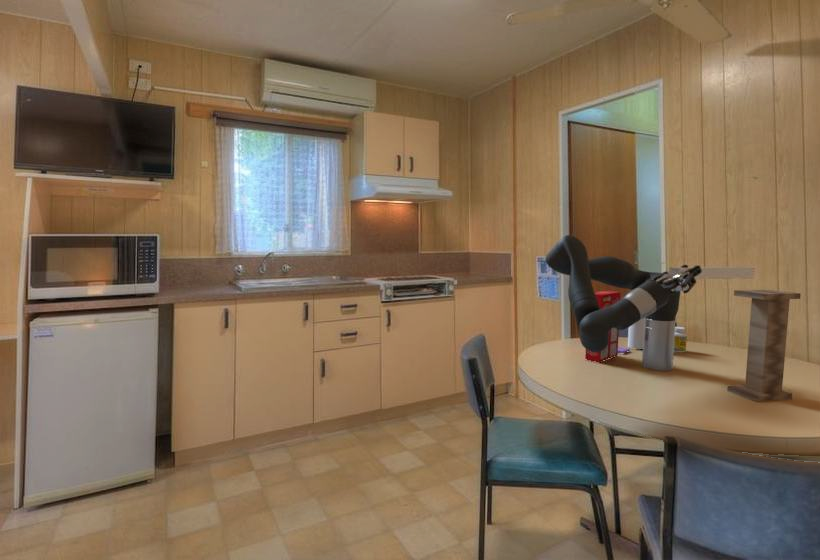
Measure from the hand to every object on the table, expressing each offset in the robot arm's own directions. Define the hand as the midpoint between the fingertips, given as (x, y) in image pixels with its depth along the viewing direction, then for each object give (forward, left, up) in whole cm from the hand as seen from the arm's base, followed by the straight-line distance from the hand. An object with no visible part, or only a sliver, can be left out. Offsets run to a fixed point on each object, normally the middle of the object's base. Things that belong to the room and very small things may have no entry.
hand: (693, 268), depth 118 cm
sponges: (-18, +54, -38) cm, 68 cm away
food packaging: (-22, +39, -37) cm, 58 cm away
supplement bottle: (+6, +64, -37) cm, 74 cm away
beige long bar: (+5, +4, -3) cm, 7 cm away
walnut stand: (+20, +15, -37) cm, 45 cm away
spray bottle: (-9, +62, -37) cm, 73 cm away
